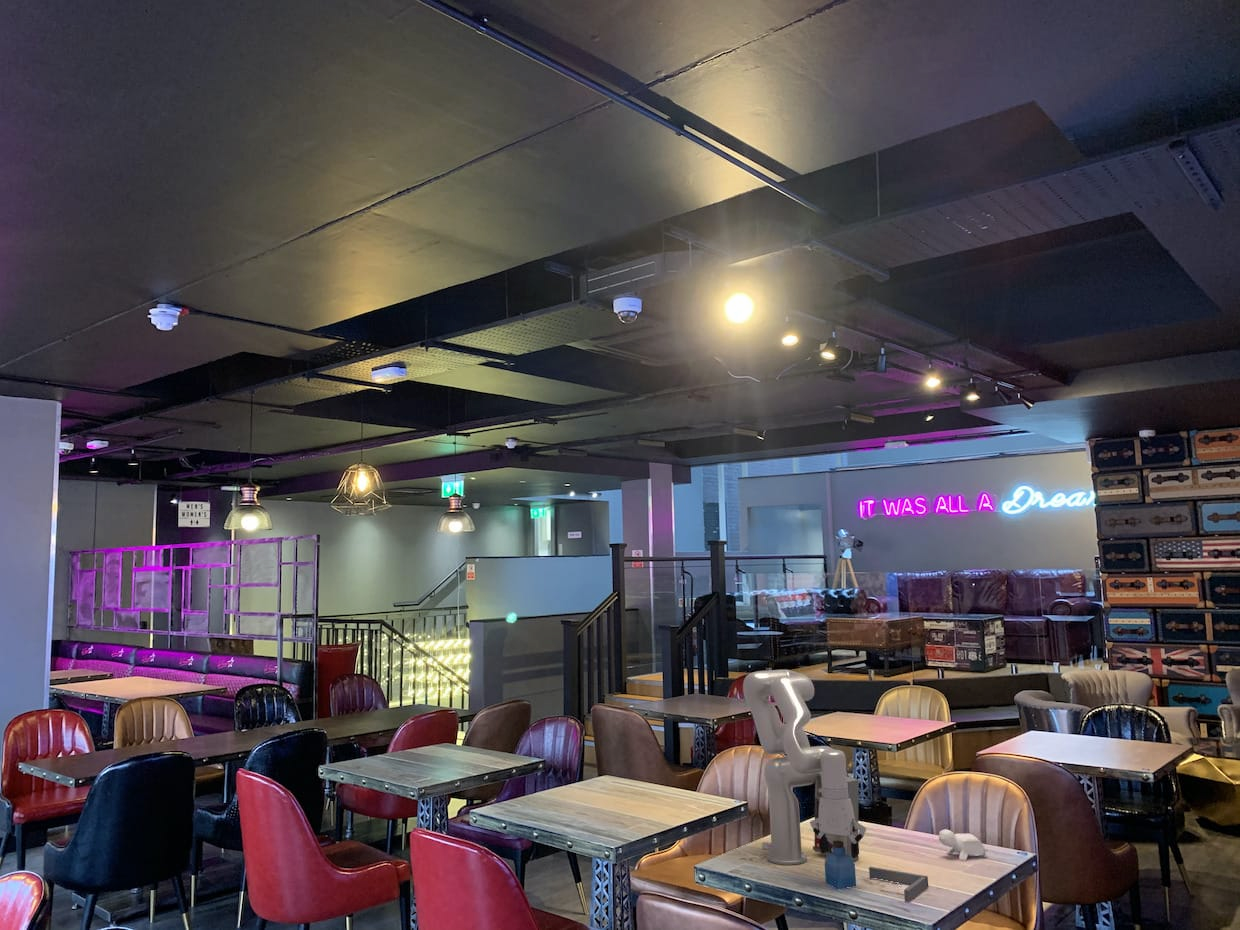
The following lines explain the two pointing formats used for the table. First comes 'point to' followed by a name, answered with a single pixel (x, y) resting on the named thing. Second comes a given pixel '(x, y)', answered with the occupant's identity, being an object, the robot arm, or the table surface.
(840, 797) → the robot arm
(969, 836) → the white turtle figurine
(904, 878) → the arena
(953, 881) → the table surface
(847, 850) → the cassette tape recorder
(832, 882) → the perfume bottle
